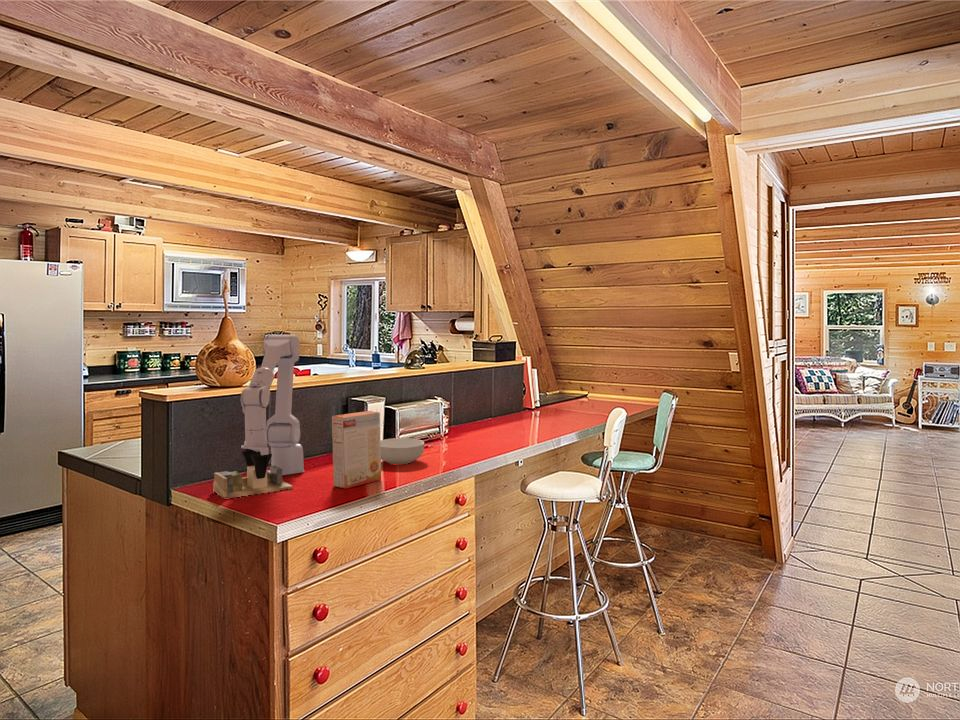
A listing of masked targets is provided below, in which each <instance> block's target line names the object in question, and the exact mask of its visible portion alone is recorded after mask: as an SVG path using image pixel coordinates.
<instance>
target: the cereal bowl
mask: <svg viewBox="0 0 960 720" xmlns="http://www.w3.org/2000/svg"><path fill="white" fill-rule="evenodd" d="M380 447H381V461H384V462H387V463H388V464H389V463H390V464H389V465H392V464H406V465H408V464H407V463H410V464H411V463H412V462H415V461H417V460H418V459H420V458H421V456H422V455H423V454H424V451H425V441H424V440H421V439H418V438H411V437H409V438H408V437H397V438H395V437H393V438H386V439H380Z"/></svg>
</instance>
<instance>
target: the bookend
mask: <svg viewBox="0 0 960 720" xmlns="http://www.w3.org/2000/svg"><path fill="white" fill-rule="evenodd" d="M269 470H270V473H269V474H270V481H271V482H273V483H275V484H282V481H283V475H282V468H280V467H277V466H271V465H270V466H269Z"/></svg>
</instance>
